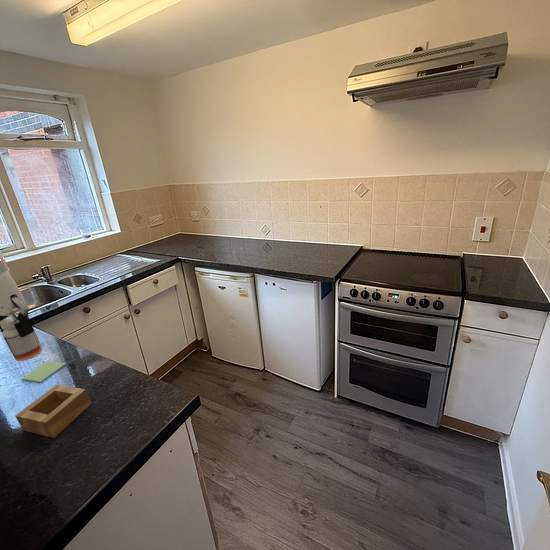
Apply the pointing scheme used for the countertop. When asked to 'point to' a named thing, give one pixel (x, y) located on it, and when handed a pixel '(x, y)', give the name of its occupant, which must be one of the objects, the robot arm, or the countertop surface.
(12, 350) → the pill bottle
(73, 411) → the box
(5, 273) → the robot arm
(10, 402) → the countertop surface
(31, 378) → the mat
